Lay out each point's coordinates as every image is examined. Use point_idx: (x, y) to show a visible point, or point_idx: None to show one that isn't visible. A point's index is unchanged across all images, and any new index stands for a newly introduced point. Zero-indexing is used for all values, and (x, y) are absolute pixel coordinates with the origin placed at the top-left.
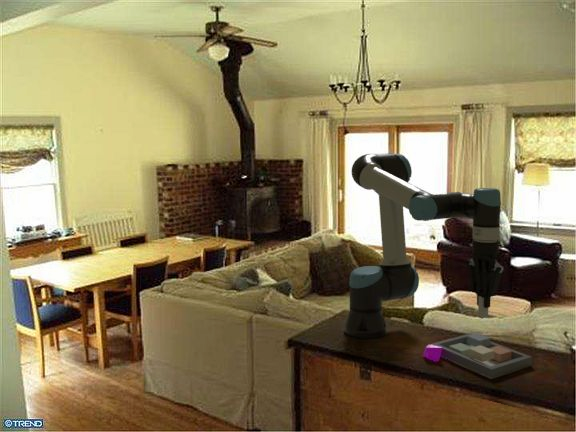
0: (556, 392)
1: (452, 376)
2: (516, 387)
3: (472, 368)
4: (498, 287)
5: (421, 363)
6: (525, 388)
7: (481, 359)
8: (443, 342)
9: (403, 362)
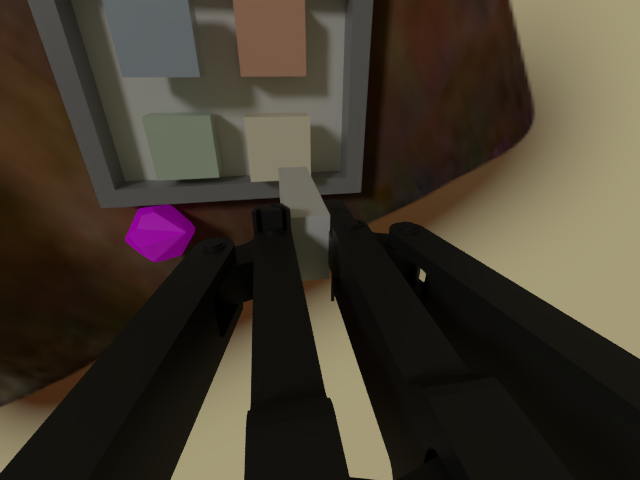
0: (495, 96)
1: None
2: (416, 163)
3: None
4: (478, 261)
5: None
6: (433, 148)
7: None
8: (102, 162)
9: None
